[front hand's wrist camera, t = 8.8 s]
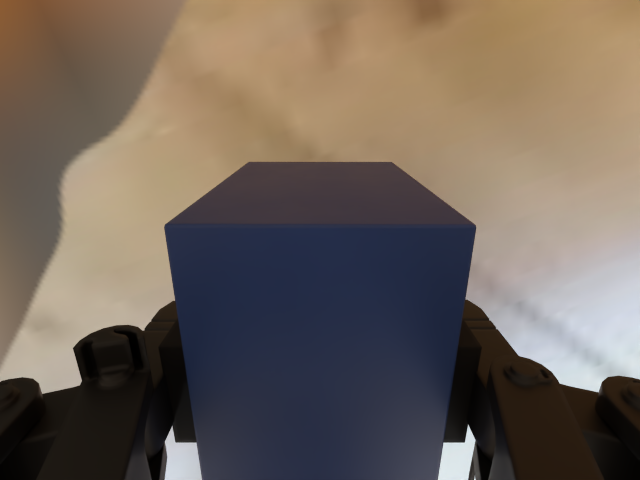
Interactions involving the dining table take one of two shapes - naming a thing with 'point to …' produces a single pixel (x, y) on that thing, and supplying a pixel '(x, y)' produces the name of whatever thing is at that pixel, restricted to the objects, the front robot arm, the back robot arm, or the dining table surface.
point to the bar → (320, 321)
